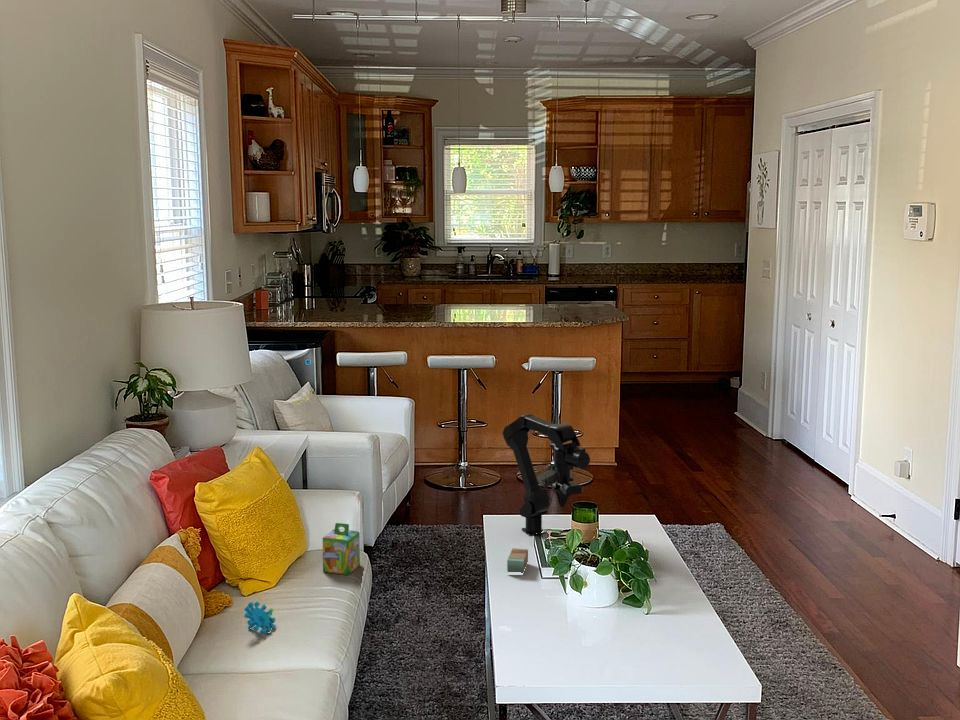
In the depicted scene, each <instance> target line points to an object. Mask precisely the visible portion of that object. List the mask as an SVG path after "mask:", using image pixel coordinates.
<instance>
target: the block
mask: <svg viewBox="0 0 960 720" xmlns="http://www.w3.org/2000/svg"><path fill="white" fill-rule="evenodd" d="M506 562H507V564H506V567H507V570H506V571H508V572H521V573H523V572H524V569H525V567H526V565H527V562H528V563H529V548H527V549H526V548H515V547H514V548H512V549H511V550H510V554H509V555H508V558H507V561H506ZM527 566H528V565H527Z"/></svg>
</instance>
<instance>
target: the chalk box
mask: <svg viewBox="0 0 960 720" xmlns="http://www.w3.org/2000/svg"><path fill="white" fill-rule="evenodd" d="M341 527H342V528H343V529H341ZM349 528H350V526H349V524H348V523H342V522H341V523H340V522H336V523H335V524H334V529H333V530H331V531H329V532H328V533H327V534H326V535H325V536H323V537H322V572H323V573H330V574H338V575H345V576H350V575H351V573H353V571H355V570H356V569H358V568H359V566H360V565H361V548H360V547H361V544H360V543H361V541H360V538H361V537H360V535H361V534H360V531H357V530H350V529H349Z"/></svg>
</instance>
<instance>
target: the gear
mask: <svg viewBox="0 0 960 720" xmlns="http://www.w3.org/2000/svg"><path fill="white" fill-rule="evenodd" d="M260 605H261V603H260V602H258V601H255V602H253V601H252V602H248V604H247V606H245V608H244V611H245V613H244V618H245V619H248V620H247V622H246V623H247V624H248V626H247V629H248V630H249V629H250V628H251V629H253V631H254V632H258V630H259V629H260V628H261V630H260V634H261V635H265V634H266V633H267V632H270V631H271V628H274V627H275V628H276V625H275V624H274V623H275V622H276V618H275V617H272V615H273V612H274V609H273V608H270V609H268V610H267V611H266V609H267V608H268V607H267V606H266V605H265V604H262V605H261V607H259V606H260ZM275 628H274V629H275ZM251 629H250V630H251Z"/></svg>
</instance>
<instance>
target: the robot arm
mask: <svg viewBox="0 0 960 720" xmlns="http://www.w3.org/2000/svg"><path fill="white" fill-rule="evenodd" d="M530 431H534V432H537V433H539V434H541V435H543V436H546V437H547V438H548V440H549V441H550V442H552V443H550V445H549V447H550V448H552V449H553V464H551V465H550V469H548V470H546V471H544V472H542V473H540V474H538V475H536V471H535V469H534V465H533V463H532V462H533V461H532V459H531V456H530V452H529V449H528V443H529V439H530V438H529V434H528V433H530ZM502 436H503V439H504V441H505V444H506V445H507V447H508V448H510V449H511V450H512V451H513V455H514V457H515V461H516V463H517V464H516V465H517V467H518V471H519V473H520V476H521V480H522V483H523V486H524V490H525V491H524V495H523V502H524V504H523V505H522V506H521V507H520V508H519V509H518V510H519V515H520V517H523V518H525V527H521V530H522V531H523V532H524V533H525V532H526V533H525V534H527V535H528V534H529V535H528V536H533V535H532V534H536V533H541V532H542V531H543V530H544V529H543V527H542V526H543V525H542V524H543V515H547V514H548V511H549V509H550V505H551V503H550V500H551V498H550V497H549V493H548V490H547V488H548V487H550V488H551V489H552V490H554V492H555V493H556V496H557V501H558V505H559V507H560V508H564V507H565V506H566V504H567V501H568V500H569V498H570V496H572V495H573V496H574V495H580V494H583V492H584V488H583V486H582V485H581V484H579V483H577V482H576V481H574V478H573V477H572V470H574V468H577V469H580V470H586V469H587V468H588V466H590V462H591V457H590V455H589V453H587V452H586V448H584V447H581V442H580V440H579V438H578V437H577V434H576V432H575V430H574V427H573V426H572V425H571V424H566V423H565V424H564V423H553V422H551V421H548V420H545V419H542V418H539V417H537V416H535V415H534V414H532V413H531V414H530V413H528V414H524V415H523V414H522V415H520V416H519V417H518V418H517V419H516V420H514V421H513V422H511V423H510V424H509V423H508V425H506V426H504V428H503V430H502ZM573 481H574V482H573ZM541 486H542V487H543V488H544V489H543V488H542V487H541ZM536 535H537V534H536Z"/></svg>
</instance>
